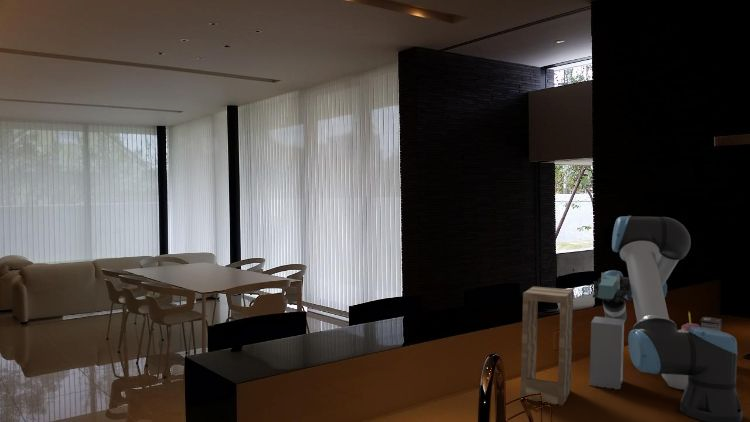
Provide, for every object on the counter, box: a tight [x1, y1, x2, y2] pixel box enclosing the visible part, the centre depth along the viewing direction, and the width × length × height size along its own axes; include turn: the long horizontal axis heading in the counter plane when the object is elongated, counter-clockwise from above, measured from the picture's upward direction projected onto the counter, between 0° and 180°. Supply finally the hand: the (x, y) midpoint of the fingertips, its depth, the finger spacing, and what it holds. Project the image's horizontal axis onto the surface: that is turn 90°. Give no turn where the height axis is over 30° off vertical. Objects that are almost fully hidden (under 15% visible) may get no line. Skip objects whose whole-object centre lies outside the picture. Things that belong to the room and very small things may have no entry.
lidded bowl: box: [661, 374, 688, 391], centre depth 194 cm, size 13×13×11 cm
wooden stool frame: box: [520, 285, 574, 406], centre depth 183 cm, size 15×12×31 cm
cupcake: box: [680, 312, 700, 332], centre depth 259 cm, size 9×8×12 cm
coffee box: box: [699, 316, 723, 332], centre depth 222 cm, size 9×6×16 cm
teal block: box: [597, 276, 618, 299], centre depth 197 cm, size 24×4×4 cm, turn 155°
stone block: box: [589, 316, 625, 390], centre depth 196 cm, size 10×9×20 cm
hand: (610, 277), depth 200 cm, fingers closed on teal block, 4 cm apart
